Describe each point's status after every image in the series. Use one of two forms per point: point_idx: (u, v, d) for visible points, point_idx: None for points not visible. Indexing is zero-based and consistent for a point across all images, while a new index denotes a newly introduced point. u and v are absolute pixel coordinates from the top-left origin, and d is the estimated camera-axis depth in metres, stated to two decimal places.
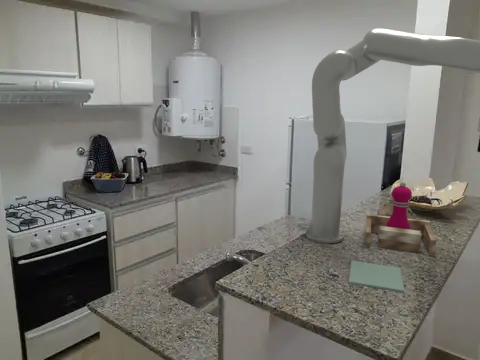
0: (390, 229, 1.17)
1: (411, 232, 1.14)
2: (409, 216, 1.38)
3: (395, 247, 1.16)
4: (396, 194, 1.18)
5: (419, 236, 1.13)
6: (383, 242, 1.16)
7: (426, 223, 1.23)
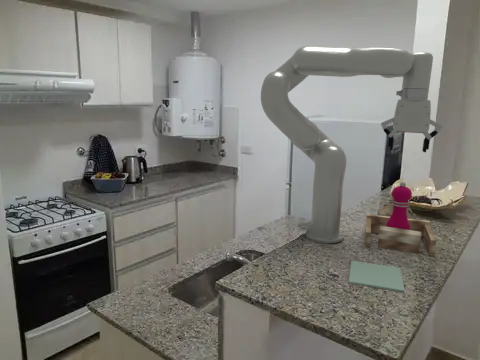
0: (390, 229, 1.17)
1: (411, 233, 1.14)
2: (409, 216, 1.38)
3: (395, 247, 1.16)
4: (396, 194, 1.18)
5: (419, 237, 1.12)
6: (383, 242, 1.16)
7: (426, 223, 1.23)
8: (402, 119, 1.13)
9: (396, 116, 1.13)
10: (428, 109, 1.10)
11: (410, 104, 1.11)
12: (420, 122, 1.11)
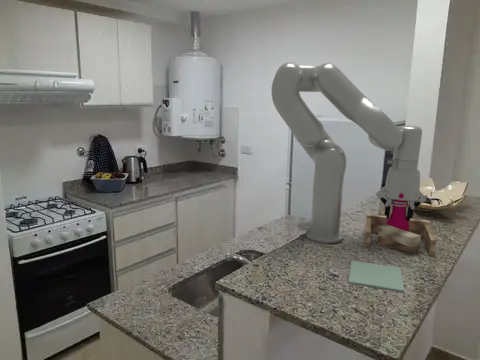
0: (389, 228, 1.18)
1: (407, 234, 1.13)
2: None
3: (394, 246, 1.16)
4: None
5: (411, 239, 1.10)
6: (383, 240, 1.18)
7: (426, 223, 1.23)
8: (393, 188, 1.18)
9: (387, 184, 1.18)
10: (417, 180, 1.15)
11: (400, 174, 1.16)
12: (410, 191, 1.16)
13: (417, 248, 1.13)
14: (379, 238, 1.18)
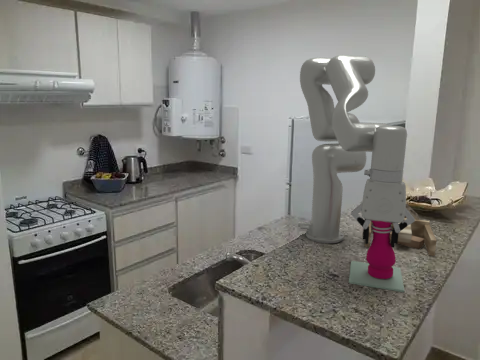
0: None
1: None
2: (413, 216, 1.38)
3: None
4: None
5: None
6: None
7: (426, 223, 1.23)
8: (371, 205, 0.92)
9: (364, 201, 0.92)
10: (402, 195, 0.89)
11: (381, 188, 0.90)
12: (393, 210, 0.90)
13: (418, 245, 1.16)
14: None
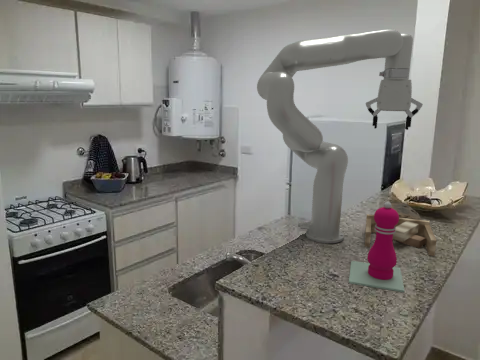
0: (407, 224, 1.22)
1: (398, 228, 1.18)
2: (415, 215, 1.39)
3: None
4: (379, 218, 0.92)
5: None
6: None
7: (426, 223, 1.23)
8: (385, 98, 1.19)
9: (379, 95, 1.19)
10: (409, 88, 1.16)
11: (392, 84, 1.17)
12: (402, 101, 1.17)
13: (418, 243, 1.16)
14: None
